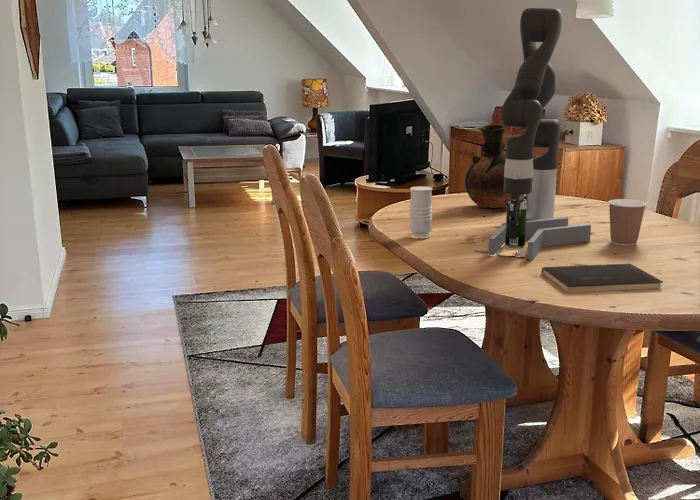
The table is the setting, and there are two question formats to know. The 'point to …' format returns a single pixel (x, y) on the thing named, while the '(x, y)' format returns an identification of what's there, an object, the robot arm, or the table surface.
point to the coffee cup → (625, 220)
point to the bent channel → (544, 235)
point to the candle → (420, 211)
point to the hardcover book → (601, 277)
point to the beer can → (520, 239)
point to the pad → (521, 253)
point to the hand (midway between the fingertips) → (515, 236)
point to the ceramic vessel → (489, 171)
